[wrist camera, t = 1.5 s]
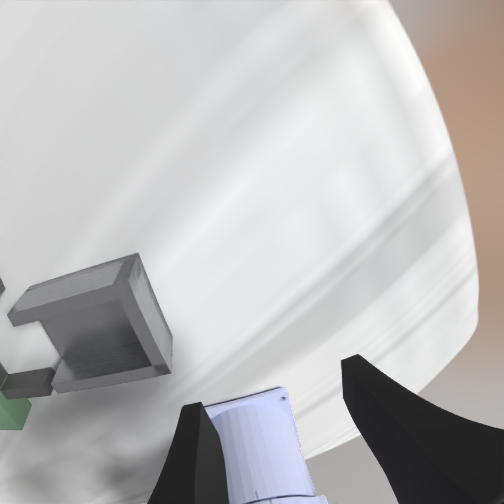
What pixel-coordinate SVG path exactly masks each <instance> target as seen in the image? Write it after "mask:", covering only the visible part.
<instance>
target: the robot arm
mask: <svg viewBox="0 0 504 504" xmlns="http://www.w3.org/2000/svg"><path fill="white" fill-rule="evenodd" d="M341 368H342V386H343V399H344V401H345V404H346V406H347V408H348V410H349V413H350V415H351V417H352V419H353V421H354V423H355V425H356V426H357V428H358V430H359V431H360V433H361V435H362V436H363V438H364V439H365V441H366V442H367V444H368V446H369V447H370V449H371V451H372V452H373V454H374V455H375V457H376V459H377V460H378V462H379V464H380V465H381V467H382V468H383V471H384V472H385V474H386V476H387V478H388V480H389V483H390V485H391V487H392V489H393V491H394V494H395V496H396V498H397V501H398V503H399V504H504V430H503V429H499V428H494V427H491V426H487V425H484V424H481V423H478V422H474V421H471V420H468V419H466V418H463V417H460V416H458V415H455V414H453V413H451V412H448V411H446V410H444V409H442V408H440V407H438V406H436V405H434V404H432V403H430V402H428V401H426V400H425V399H423V398H421V397H419V396H418V395H416V394H414V393H413V392H411V391H409V390H408V389H406V388H405V387H403V386H402V385H400V384H399V383H397V382H396V381H394V380H393V379H391V378H390V377H388V376H387V375H386V374H384V373H383V372H381V371H380V370H379V369H377V368H376V367H375V366H373V365H372V364H371V363H369V362H368V361H367V360H366V359H364V358H363V357H362V356H360V355H358V354H357V355H354V356H351V357H349V358H346V359H343V360H341ZM281 397H282V398H281ZM300 447H301V445H300V441H299V437H298V433H297V428H296V424H295V420H294V416H293V411H292V407H291V403H290V399H289V394H288V391H287V389H286V388H283V387H281V388H277V389H274V390H271V391H267V392H264V393H260V394H257V395H253V396H249V397H246V398H242V399H238V400H234V401H230V402H226V403H222V404H218V405H213V406H209V407H205V408H204V406H203V404H202V402H198V403H193V404H188V405H184V406H183V407H182V409H181V413H180V417H179V421H178V424H177V428H176V431H175V435H174V438H173V441H172V444H171V447H170V450H169V453H168V456H167V459H166V462H165V464H164V467H163V469H162V472H161V474H160V477H159V479H158V482H157V484H156V486H155V488H154V490H153V493H152V495H151V497H150V499H149V501H148V503H147V504H328V501H327V499H326V496H325V495H321V496H317V493H316V491H315V488H314V485H313V482H312V480H311V477H310V474H309V472H308V469H307V466H306V463H305V461H304V458H303V455H302V453H301V450H300Z"/></svg>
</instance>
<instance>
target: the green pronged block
mask: <svg viewBox="0 0 504 504" xmlns="http://www.w3.org/2000/svg"><path fill="white" fill-rule="evenodd" d="M4 290H5V287H4V285H3V283H2V281H1V278H0V294H1V293H2V292H3V291H4ZM54 376H55V373H54V371H53V370H52V369H51V368H46V369H40V370H34V371H28V372H21V373H15V374H8V373H7V372H6V370H5V369H4V367H3V366H2V365H1V363H0V430H22V429H23V426H24V423H25V421H26V418H27V416H28V413H29V410H30V408H31V404H30V402H29V401H28V400H27V399H26V398H31V397H41V396H50V395H51V393H52V390H53V386H52V385H51V383H52V381H53V378H54Z"/></svg>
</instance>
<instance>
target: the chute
mask: <svg viewBox="0 0 504 504" xmlns="http://www.w3.org/2000/svg"><path fill="white" fill-rule="evenodd" d="M7 316H8V317H9V319H10V321H11V323H12V325H13V326H14V327H15V326H19V325H23V324H27V323H30V322H34V321H38V320H40V321H41V323H42V325H43V327H44V329H45V330H46V332H47V334H48V335H49V337H50V339H51V341H52V342H53V344H54V346H55V347H56V349H57V350H58V352H59V354H60V355H61V357H62V359H61V362H60V364H59V366H58V369H57V371H56V373H55V376H54V378H53V381H52V383H51V385H52V386H53V388H54V389H55V390H56V392H57V393H63V392H71V391H78V390H84V389H91V388H97V387H103V386H109V385H115V384H120V383H126V382H131V381H136V380H141V379H146V378H151V377H156V376H161V375H165V374H170V373H171V365H172V339H173V336H172V334H171V332H170V330H169V327H168V325H167V323H166V321H165V318H164V316H163V314H162V311H161V309H160V306H159V304H158V302H157V299H156V297H155V294H154V292H153V289H152V287H151V284H150V282H149V279H148V277H147V274H146V272H145V269H144V266H143V264H142V261H141V259H140V256H139V253H135V254H132V255H129V256H125V257H122V258H119V259H116V260H112V261H109V262H106V263H102V264H99V265H96V266H93V267H90V268H86V269H83V270H80V271H77V272H74V273H70V274H67V275H64V276H61V277H58V278H55V279H52V280H48V281H45V282H42V283H39V284H36V285H33V286H30V287H29V288H28V290H27V291H26V292H25V293H24V294H23V296H22V297H21V298H20V299H19V301H18V302H17V303H16V304H15V306H14V307H13V308H12V309H11V311H10V312H9V313H8V314H7Z"/></svg>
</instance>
